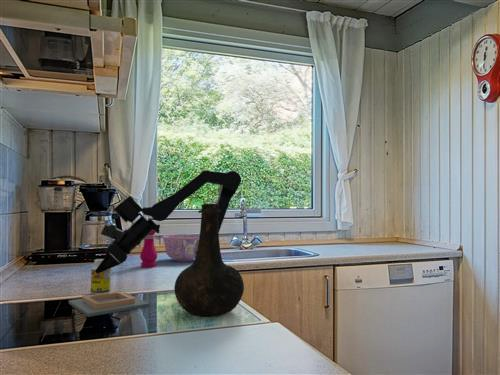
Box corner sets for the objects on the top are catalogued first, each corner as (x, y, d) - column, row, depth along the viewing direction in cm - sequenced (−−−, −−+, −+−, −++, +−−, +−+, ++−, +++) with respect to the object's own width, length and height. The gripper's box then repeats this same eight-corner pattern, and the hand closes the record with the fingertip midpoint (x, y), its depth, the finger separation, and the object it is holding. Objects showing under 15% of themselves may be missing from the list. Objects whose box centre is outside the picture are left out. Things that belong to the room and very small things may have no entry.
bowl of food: (194, 264, 177) (194, 238, 178) (154, 262, 183) (154, 237, 183) (210, 258, 197) (211, 235, 197) (173, 256, 202) (174, 233, 202)
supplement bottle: (86, 293, 120) (87, 259, 121) (101, 290, 125) (102, 257, 125) (99, 296, 118) (100, 261, 118) (114, 292, 122) (114, 259, 123)
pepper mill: (152, 268, 167) (153, 220, 167) (136, 267, 168) (137, 220, 169) (159, 265, 174) (160, 219, 174) (144, 264, 175) (145, 219, 176)
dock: (125, 295, 119) (125, 288, 119) (149, 306, 107) (149, 298, 107) (68, 303, 109) (68, 296, 109) (88, 316, 97) (88, 308, 97)
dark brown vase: (218, 328, 90) (220, 203, 91) (158, 315, 98) (160, 202, 99) (256, 309, 105) (257, 203, 106) (201, 300, 114) (203, 202, 115)
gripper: (120, 213, 132) (83, 247, 129) (115, 216, 114) (72, 255, 111) (143, 237, 134) (108, 271, 131) (143, 243, 116) (101, 282, 113)
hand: (97, 269), depth 121 cm, fingers open, 9 cm apart
